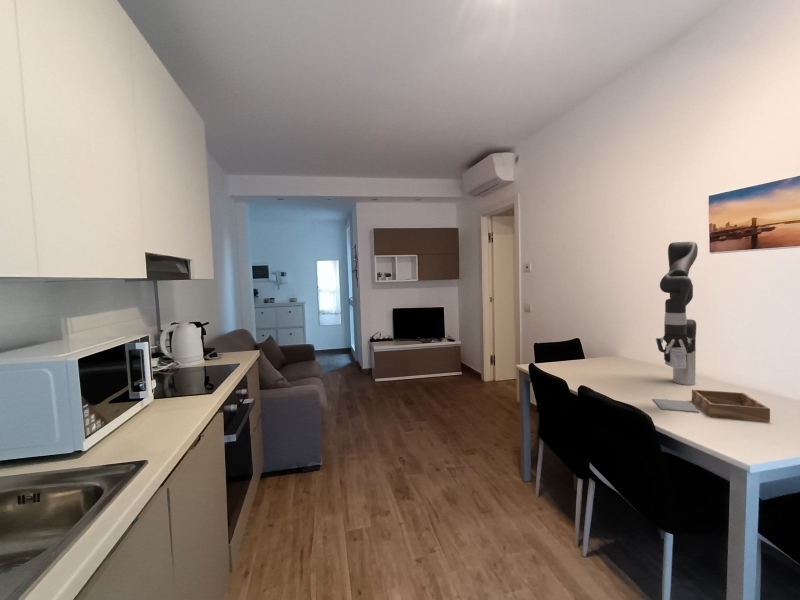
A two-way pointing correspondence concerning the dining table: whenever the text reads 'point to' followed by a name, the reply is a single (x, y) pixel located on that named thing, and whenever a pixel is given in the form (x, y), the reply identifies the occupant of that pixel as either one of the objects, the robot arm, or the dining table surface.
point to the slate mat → (675, 405)
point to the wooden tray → (746, 411)
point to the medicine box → (677, 358)
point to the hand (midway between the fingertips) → (675, 362)
